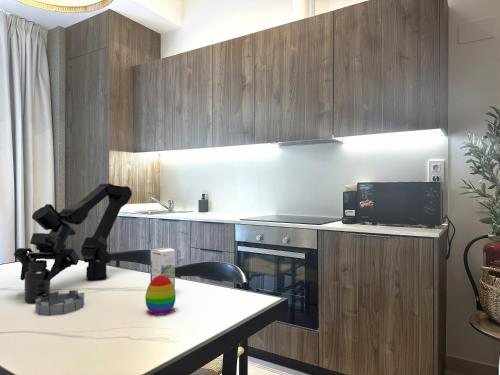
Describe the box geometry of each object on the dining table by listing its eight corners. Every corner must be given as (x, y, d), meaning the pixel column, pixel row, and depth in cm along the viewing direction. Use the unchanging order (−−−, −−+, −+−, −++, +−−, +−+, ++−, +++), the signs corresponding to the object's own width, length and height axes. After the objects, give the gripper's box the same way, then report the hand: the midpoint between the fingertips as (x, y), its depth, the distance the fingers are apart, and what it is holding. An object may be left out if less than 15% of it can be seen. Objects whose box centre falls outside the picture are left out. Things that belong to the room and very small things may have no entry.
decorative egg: (181, 311, 97) (181, 275, 97) (153, 318, 92) (153, 280, 92) (166, 304, 103) (166, 270, 103) (140, 310, 98) (140, 274, 98)
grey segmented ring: (86, 299, 108) (86, 288, 108) (80, 312, 97) (80, 299, 97) (41, 303, 104) (41, 291, 104) (31, 317, 93) (31, 304, 93)
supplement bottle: (19, 302, 106) (19, 262, 106) (41, 295, 112) (42, 258, 112) (32, 305, 103) (33, 264, 103) (55, 299, 109) (55, 260, 109)
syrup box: (164, 289, 118) (164, 247, 119) (175, 293, 115) (175, 248, 115) (149, 293, 114) (150, 249, 114) (161, 297, 110) (161, 251, 110)
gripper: (17, 222, 112) (-10, 264, 101) (74, 223, 111) (52, 265, 100) (34, 243, 120) (10, 284, 108) (87, 244, 119) (68, 285, 107)
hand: (34, 279), depth 106 cm, fingers open, 8 cm apart
